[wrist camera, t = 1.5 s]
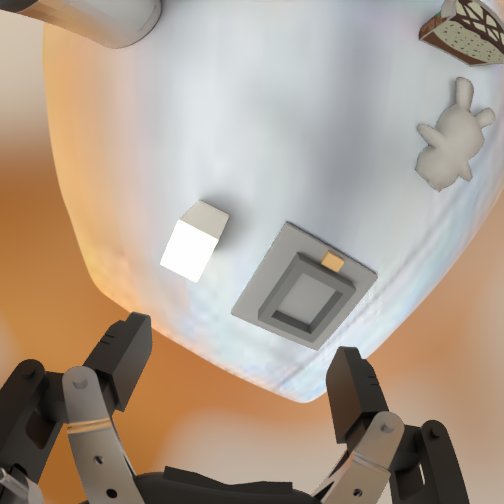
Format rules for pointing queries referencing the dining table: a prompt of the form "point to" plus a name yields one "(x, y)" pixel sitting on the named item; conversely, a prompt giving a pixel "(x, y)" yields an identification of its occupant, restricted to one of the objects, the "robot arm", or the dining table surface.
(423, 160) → the bunny figurine
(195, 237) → the plug
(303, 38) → the dining table surface
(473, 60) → the food container
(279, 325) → the socket plate
